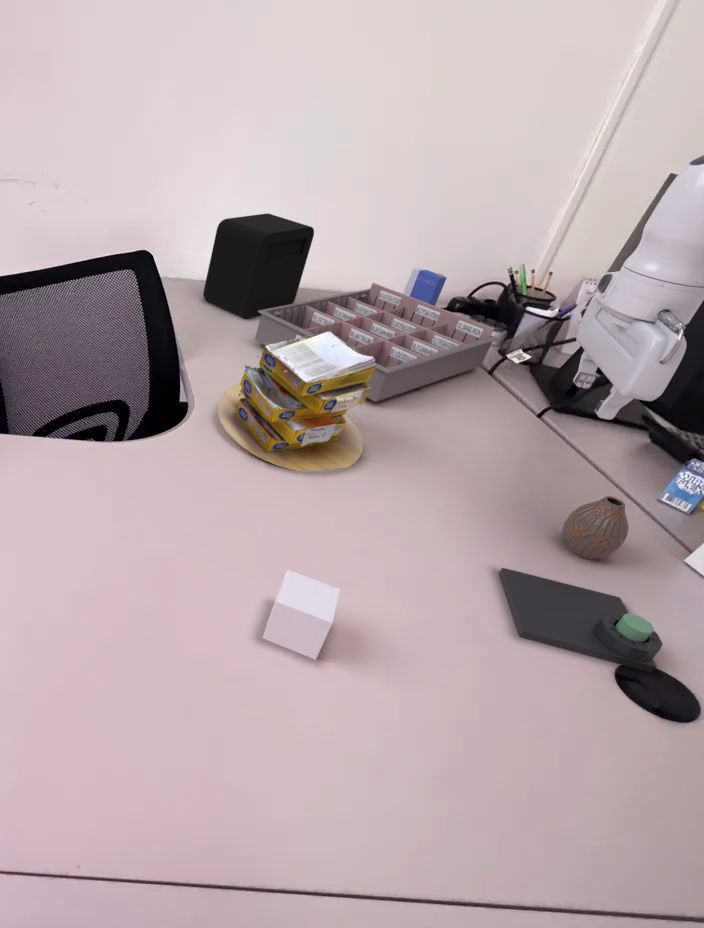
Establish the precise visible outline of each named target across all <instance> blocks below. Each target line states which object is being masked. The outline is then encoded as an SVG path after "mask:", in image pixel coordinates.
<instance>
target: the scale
mask: <svg viewBox="0 0 704 928" xmlns="http://www.w3.org/2000/svg"><path fill="white" fill-rule="evenodd" d="M498 576H499V579H500V582H501V586H502V589H503V591H504V594H505V598H506V601H507V604H508V607H509V610H510V613H511V616H512V619H513V622H514V625H515V628H516V631H517V634H518V637H519V638H521V639H526V640H529V641H532V642H537V643H541V644H544V645H548V646H552V647H554V648H558V649H563V650H566V651H570V652H573V653H577V654H580V655H585V656H588V657H591V658H595V659H599V660H604V661H606V662H609V663H614V664H617V665H620V666H621V665H622V666H625V667H629V668H632V669H636V670H640V671H642V672H643V671H644V672H647V673H650V674H651V673H653V672H654V671H655V670H656V669H657V665H656V663H655V660H654V657H656V655H657V654H658V653H659V652H660V651H661V649H662V646H663V645H664V644H663V641H662V639H661V638H660V636H659V634H658V633H657V632H656V631H655V630H654V631H653V632H652V634H651V635H650V636H649V637H648V638H647V639H646V641H645V642H643V643H639V642H635V641H632V640H630V639H629V638H627V637H625V636H623V635H622V634H621V633H620V632H618V631H617V630H616V628H615V626H616V624H617V623H618V622H619V621H620V619H621V618H622V617H623V616H624V615H625V614H630V613H629V612H628V610H627V607H626V606H625V604H624V602H623V600H622V598H621V597H619V596H616V595H612V594H609V593H604V592H600V591H596V590H592V589H588V588H584V587H580V586H577V585H572V584H569V583H565V582H561V581H558V580H553V579H548V578H546V577H545V578H544V577H542V576H538V575H533V574H528V573H525V572H521V571H517V570H513V569H509V568H505V567H501V568H500V571H499V572H498Z"/></svg>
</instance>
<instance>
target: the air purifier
mask: <svg viewBox="0 0 704 928" xmlns="http://www.w3.org/2000/svg"><path fill="white" fill-rule="evenodd" d="M215 231H216V232H215V236H214V240H213V246H212V250H211V255H210V259H209V264H208V269H207V274H206V278H205V283H204V288H203V293H202V296H203V298H204V300H205V301H206V302H207V303H210V304H212V305H214V306H216V307H218V308H221V309H223V310H225V311H228V312H230V313H232V314H235V315H237V316H239V317H241V318H243V319H246V320H249V319H254V318H257V317H261V315H262V314H261V313H259V312H258V311H259V310H264V309H269V308H274V307H279V306H284V305H289V304H294V303H295V301H296V298H297V295H298V292H299V291H298V290H299V287H300V283H301V281H302V277H303V274H304V270H305V267H306V263H307V260H308V256H309V253H310V250H311V247H312V243H313V240H314V236H315V229H314V228H313V227H312V226H310V225H307V224H303V223H301V222H297V221H294V220H291V219H288V218H286V217H285V218H284V217H281V216H278V215H275V214H272V213H260V214H252V215H245V216H237V217H229V218H228V217H227V218H224V219H222V220H221V221H220V222H219V223H218V225H217V227H216V230H215Z"/></svg>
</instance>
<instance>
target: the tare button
mask: <svg viewBox="0 0 704 928" xmlns="http://www.w3.org/2000/svg"><path fill="white" fill-rule="evenodd" d="M615 628H616V630H617V631H618V632H620V633H621V634H622V635H623V636H625V637H627V638H629V639H630V640H632V641H635V642H639V643H643V642H645V641H646V639H647V638H648V637H649V636H650V635H651V634H652V632H653V631H655V629H654V626H653V624H652V623H650V621H648V620H647V619H646V618H644V617H642V616H640V615H637V614H634V613H629V614H625V615H624V616H623V617H622V618H621V619H620V621H619V622H618V623H617V624H616V626H615Z"/></svg>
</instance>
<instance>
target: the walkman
mask: <svg viewBox="0 0 704 928" xmlns="http://www.w3.org/2000/svg"><path fill="white" fill-rule="evenodd" d="M447 278H448V277H447V276H444V274H443V273H440V272H439V273H437V272H433V271H431V270H429V269H426V268H423V267H413V268H412V271H411V272H410V276H409V278H408V281H407V283H406V285H405V287H404V291H403V293H402V294H404V295H407V296H410V297H412V298H415V299H418V300H420V301H423V302H426V303H428V304H431V305H434V306H436V305H437V302H438V300H439V298H440V295H441V293H442V291H443V290H442V289H443V288H444V286H445V283H446V280H447Z"/></svg>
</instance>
